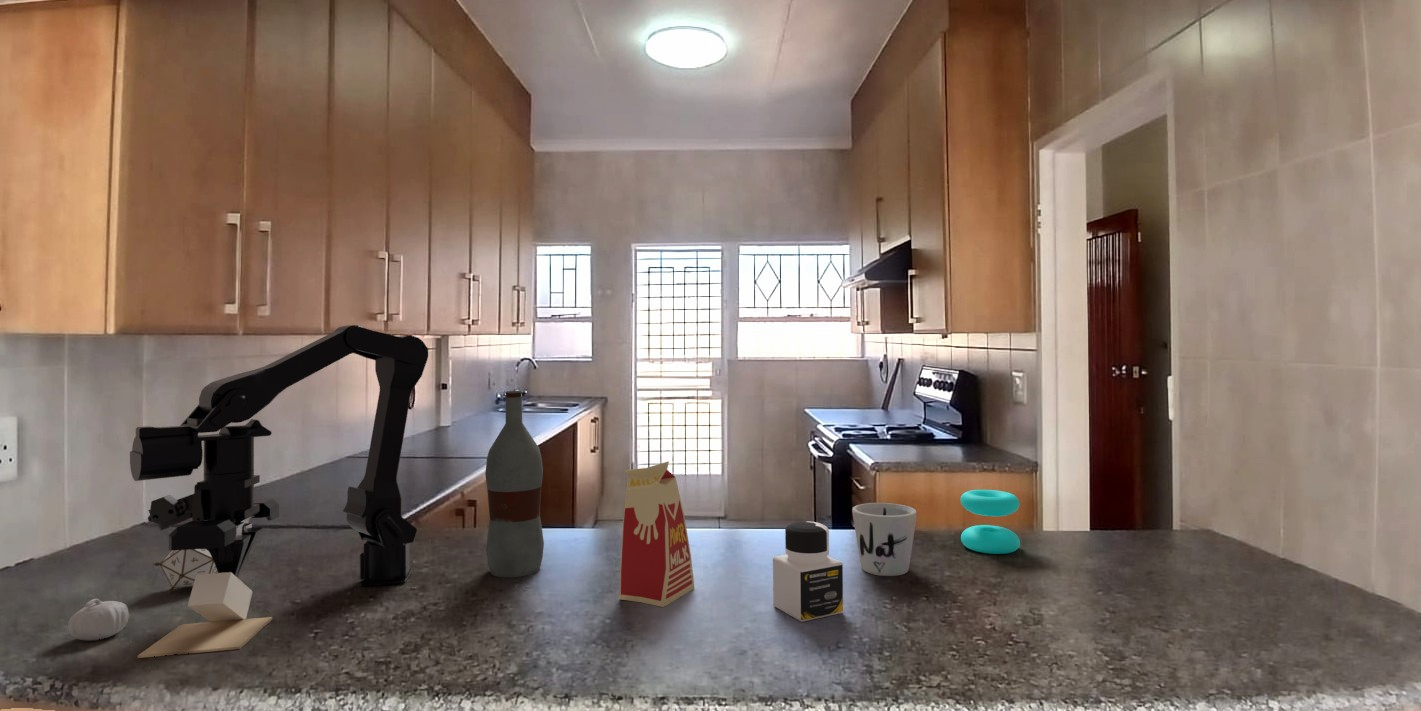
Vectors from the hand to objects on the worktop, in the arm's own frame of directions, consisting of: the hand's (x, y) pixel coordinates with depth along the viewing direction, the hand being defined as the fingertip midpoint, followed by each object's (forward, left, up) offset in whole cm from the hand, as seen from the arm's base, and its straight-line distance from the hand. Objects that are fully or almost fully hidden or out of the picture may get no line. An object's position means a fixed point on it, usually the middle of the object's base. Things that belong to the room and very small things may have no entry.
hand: (229, 585), depth 96 cm
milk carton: (-58, +3, -5) cm, 58 cm away
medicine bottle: (-78, +15, -5) cm, 80 cm away
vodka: (-37, -14, -5) cm, 40 cm away
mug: (-98, -1, -5) cm, 98 cm away
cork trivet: (0, +6, -5) cm, 8 cm away
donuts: (-121, -6, -5) cm, 121 cm away
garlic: (+14, +2, -5) cm, 15 cm away
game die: (+12, -17, -5) cm, 21 cm away
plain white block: (0, -1, -3) cm, 3 cm away
